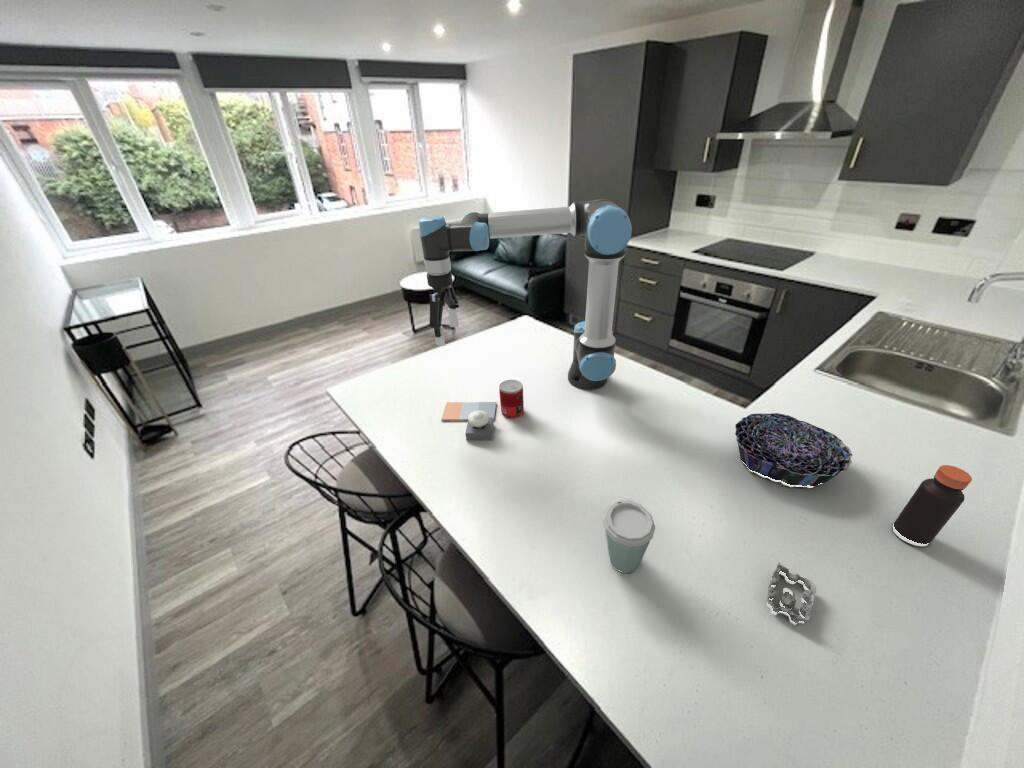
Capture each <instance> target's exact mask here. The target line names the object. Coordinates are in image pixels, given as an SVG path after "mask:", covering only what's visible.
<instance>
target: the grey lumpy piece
mask: <svg viewBox="0 0 1024 768" xmlns="http://www.w3.org/2000/svg"><path fill="white" fill-rule="evenodd" d="M780 571H782V572H784V573H786V576H787V577H788V579H789V580H791V581H794V582H796V581H798V580H801V581H803V582H804V584H805V586H806V587H807V588H808V589H809V590H804V591H803V592H802V594H801V596H802V598H803V599H804V600H805V601H806V602H807V603H805V602H804V603H802V604H801V606H800V607H799V609H800V612H801V614H802V615H803V616H804V617H805V618H802V617H801V616H799V614H796V613H795V612H794V611H792V610H790V609H791V608H794V607H795V605H796V603H797V599H796V597H795V596H792V595H791V594H789V592H785V593H784V594H783V595H782V596H781V598H780V600H781V603H782V604H783V606H785V608H784V607H782V608H781V607H780V606H778V608H776V607H774V603H773V601H771V600H769V598H770V599H772V598H774V599H775V597H777V596H776V595H777V594H778V591H776V590H775V588H773V587H771V585H777V586H778V584H779V582H780V580H781V576H780V575H779V572H780ZM772 574H773V576H772V575H771V577H772V580H771V579H770V582H769V584H768V587H767V589H768V590H767V598H766V601H767V602H768V604H770V605H771V606H772V608H773V611H775V612H777V613H778V612H779V611H783V612H787V613H788V614H789V615H790V617H791V620H792V621H794V622H795V623H798V622H799V621H804V622H805V623H806V622H807V621H809V620H810V617H811V613H812V611H813V606H814V601H815V597H816V593H817V586H816V585H815V583H814V582H813V581H811V580H809V579H808V578H806V577H802V576H801V575H799V574H798V573H792V572H790V570H789V568H787V567H786V566H785V565H782V564H781V562H777V566H776V568H775V570H774V571H773V572H772Z"/></svg>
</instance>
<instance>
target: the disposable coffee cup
mask: <svg viewBox="0 0 1024 768" xmlns="http://www.w3.org/2000/svg"><path fill="white" fill-rule="evenodd" d="M602 524H603V528H604V531H605V537H606V538H605V539H606V544H607V552H608V558H609V562H610V564H611V566H612V567H613V566H614V567H615V568H616V569H617V570H616V569H615V568H614V567H613V568H614V569H615V570H616V571H618V570H620V571H622V572H632V573H633V572H634V571H637V569H639V567H640V565H641V563H642V560H643V558H644V556H645V554H646V552H647V551H646V550H647V549H648V547H649V545H650V542H651V540H653V538H654V535H655V530H656V524H655V521H654V519H653V516H652V514H651V513H650V512H649V511H648V510H647V509H646V508H645V507H644V506H643V505H642V504H641V503H638V502H635V501H633V500H630V499H626V500H624V499H623V500H618V501H615V502H614V503H612V504H610V505H609V506H608V508H606V511H605V513H604V515H603V518H602ZM620 571H619V572H620ZM622 572H621V573H622Z"/></svg>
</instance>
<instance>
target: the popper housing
mask: <svg viewBox="0 0 1024 768" xmlns="http://www.w3.org/2000/svg"><path fill="white" fill-rule="evenodd" d="M493 430H494V421H493V417H489V422H488V423H487V424H486V425H484V426H483V427H482V428H481V429H478V428H477V427H474V426H472V425H470V424H469V419H468V421H467V426H466V428H465V440H466V441H492V437H493V433H494V432H493Z"/></svg>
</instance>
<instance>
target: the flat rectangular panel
mask: <svg viewBox="0 0 1024 768" xmlns="http://www.w3.org/2000/svg"><path fill="white" fill-rule="evenodd" d="M445 403H446V404H445V406H444V409H443V414H442V416H441V419H440V420H441V422H468V419H469V418H468V416H469V414H470V413H472V412H473V411H477V410H482V411H485V412H487V413H488V416H489V417H493V422H494V421H495V416H496V411H497V410H496V409H497V401H458V402H457V401H455V402H454V401H453V402H452V401H451V402H450V401H448V402H445Z"/></svg>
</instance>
